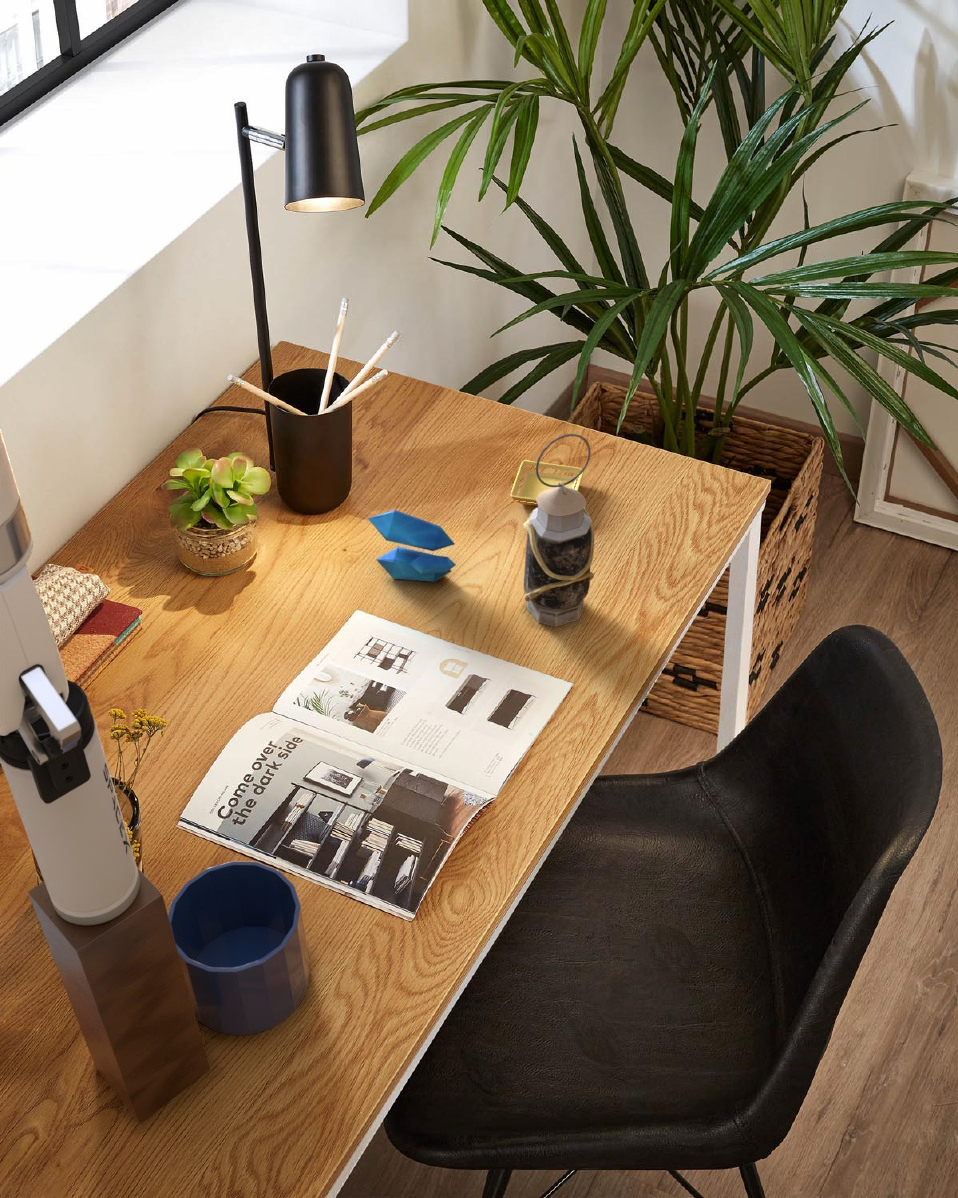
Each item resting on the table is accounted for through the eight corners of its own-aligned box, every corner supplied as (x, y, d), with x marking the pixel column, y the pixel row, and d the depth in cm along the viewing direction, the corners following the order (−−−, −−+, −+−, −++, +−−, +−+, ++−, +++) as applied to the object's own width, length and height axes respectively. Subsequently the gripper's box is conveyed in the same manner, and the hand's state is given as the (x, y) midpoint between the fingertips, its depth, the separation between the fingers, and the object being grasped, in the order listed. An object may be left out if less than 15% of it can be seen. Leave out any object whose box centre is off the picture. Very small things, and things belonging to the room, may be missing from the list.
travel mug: (30, 903, 92) (-45, 710, 79) (99, 842, 96) (39, 650, 83) (90, 945, 89) (23, 753, 76) (158, 882, 93) (106, 689, 80)
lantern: (571, 579, 158) (582, 407, 141) (603, 618, 152) (619, 444, 136) (508, 598, 155) (512, 426, 139) (539, 639, 150) (547, 464, 133)
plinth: (139, 1124, 105) (76, 951, 89) (95, 1067, 109) (27, 891, 93) (210, 1070, 109) (162, 894, 92) (164, 1016, 113) (111, 838, 96)
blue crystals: (459, 554, 151) (362, 525, 150) (444, 605, 157) (350, 578, 156) (470, 516, 156) (376, 488, 156) (455, 567, 162) (364, 541, 162)
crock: (232, 1060, 109) (216, 997, 103) (160, 977, 116) (141, 912, 109) (334, 981, 115) (325, 916, 109) (261, 906, 121) (248, 840, 115)
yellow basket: (584, 480, 174) (584, 467, 172) (573, 517, 167) (573, 504, 166) (522, 471, 175) (522, 459, 174) (508, 508, 169) (509, 495, 168)
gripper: (-176, 495, 73) (-89, 705, 84) (-34, 645, 63) (42, 859, 74) (-52, 444, 76) (15, 651, 88) (99, 578, 67) (152, 792, 78)
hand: (27, 747), depth 81 cm, fingers open, 9 cm apart
